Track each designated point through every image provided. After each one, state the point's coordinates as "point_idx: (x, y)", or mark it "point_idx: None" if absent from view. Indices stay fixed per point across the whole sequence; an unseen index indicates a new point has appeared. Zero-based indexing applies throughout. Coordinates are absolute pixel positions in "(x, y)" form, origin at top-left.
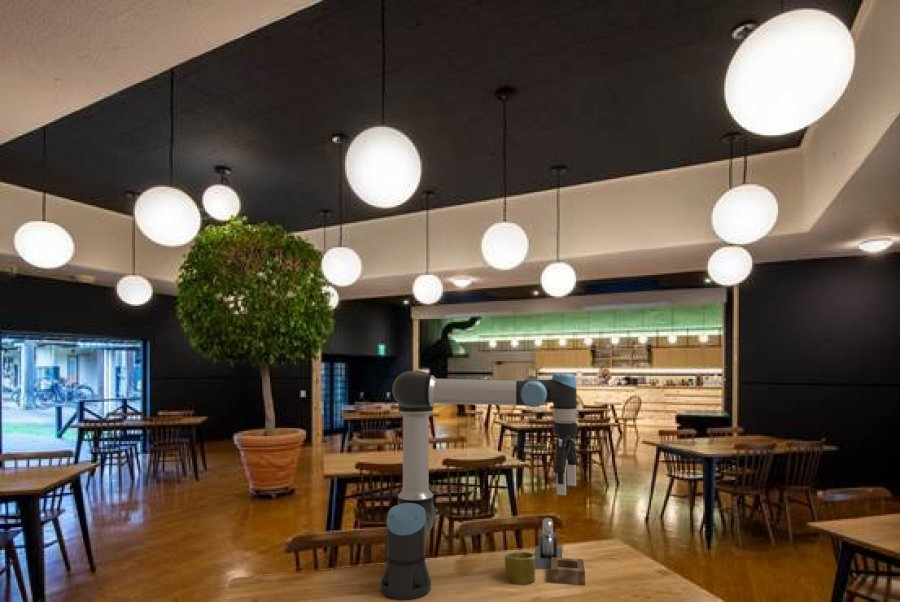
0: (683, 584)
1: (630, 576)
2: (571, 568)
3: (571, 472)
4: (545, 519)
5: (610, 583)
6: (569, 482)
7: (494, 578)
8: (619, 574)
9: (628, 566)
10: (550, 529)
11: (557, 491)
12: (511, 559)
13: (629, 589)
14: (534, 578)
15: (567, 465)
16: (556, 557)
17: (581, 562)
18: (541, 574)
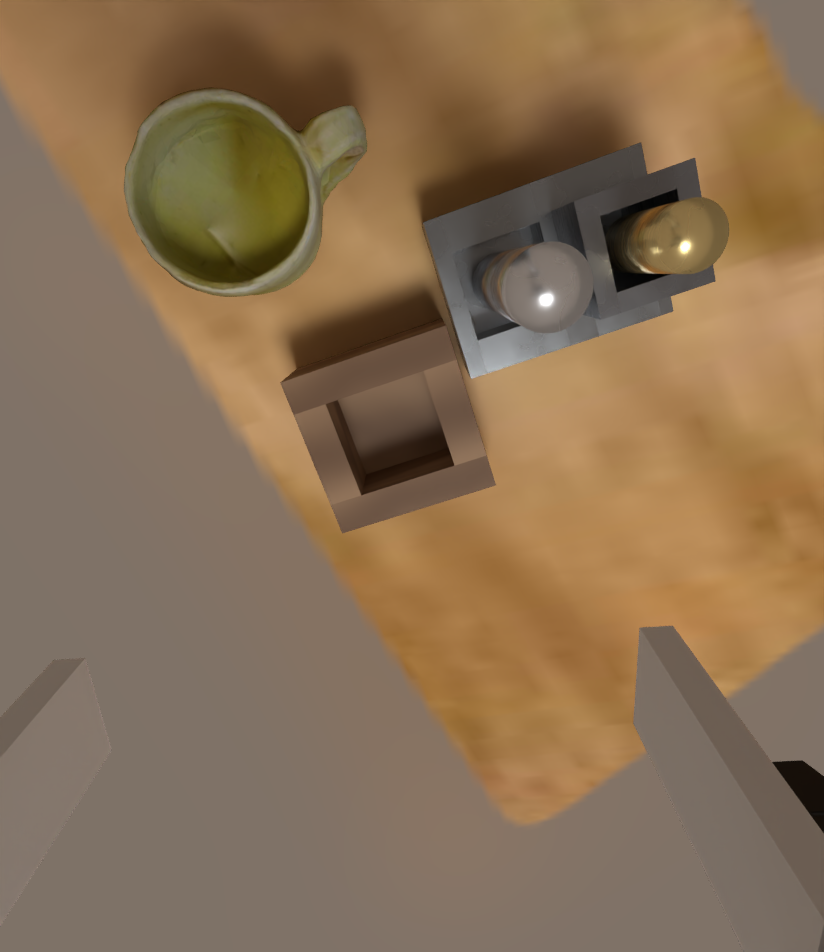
0: (576, 782)
1: (571, 625)
2: (342, 469)
3: (720, 841)
4: (675, 219)
5: (459, 574)
6: (653, 679)
7: (218, 54)
8: (574, 585)
9: (685, 599)
10: (510, 318)
11: (31, 693)
12: (127, 172)
13: (436, 643)
14: (255, 294)
15: (811, 917)
16: (502, 334)
17: (448, 489)
18: (405, 275)
